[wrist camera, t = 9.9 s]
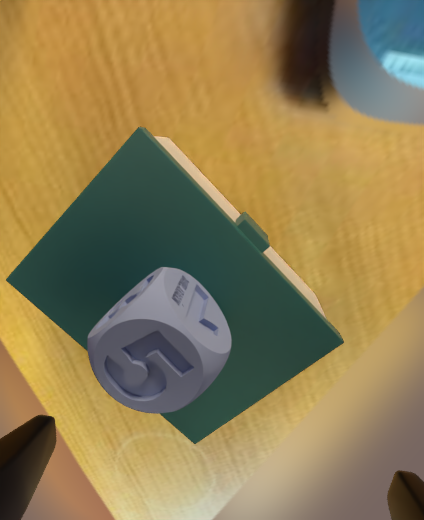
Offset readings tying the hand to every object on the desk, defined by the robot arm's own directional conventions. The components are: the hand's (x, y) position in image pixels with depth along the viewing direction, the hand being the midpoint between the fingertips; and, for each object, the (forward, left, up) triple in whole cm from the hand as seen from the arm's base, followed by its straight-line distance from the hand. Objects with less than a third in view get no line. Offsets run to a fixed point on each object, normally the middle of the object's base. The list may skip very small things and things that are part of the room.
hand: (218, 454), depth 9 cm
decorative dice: (+2, +1, -7) cm, 7 cm away
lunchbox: (+2, +1, -12) cm, 12 cm away
